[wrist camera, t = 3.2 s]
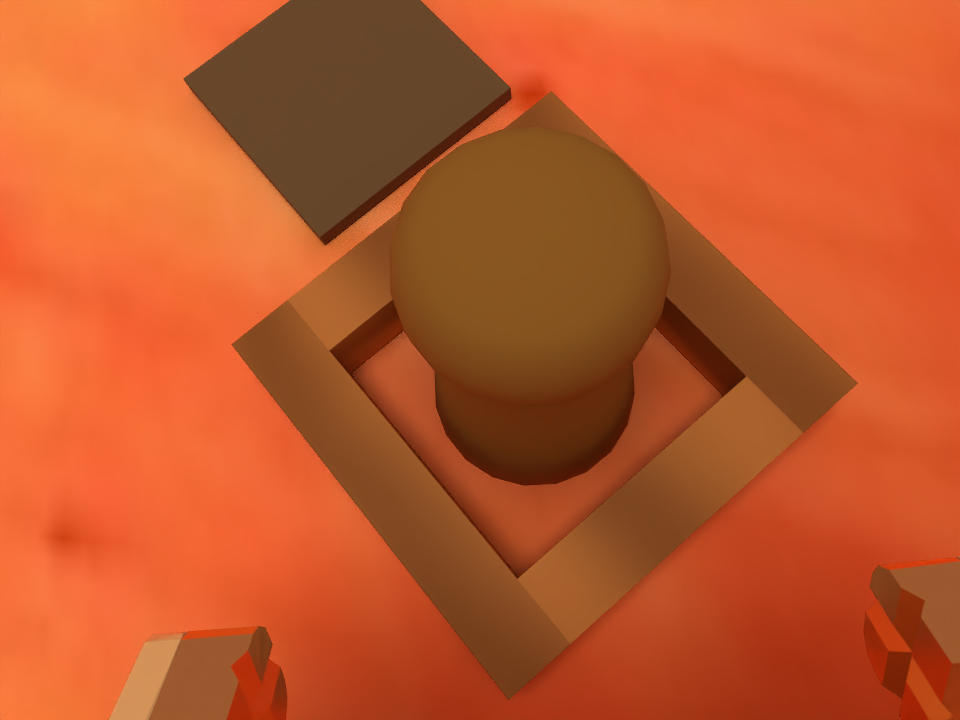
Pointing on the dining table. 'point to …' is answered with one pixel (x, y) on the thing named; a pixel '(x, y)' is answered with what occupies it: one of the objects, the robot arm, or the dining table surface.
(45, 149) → the dining table surface
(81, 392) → the dining table surface
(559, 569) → the walnut housing
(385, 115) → the rubber mat
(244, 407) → the dining table surface
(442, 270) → the cork
